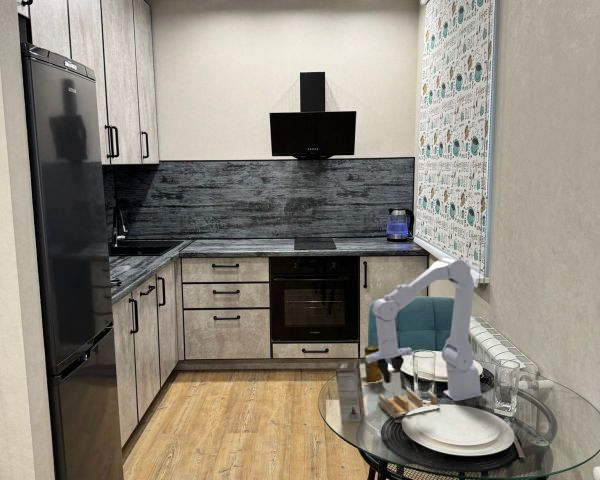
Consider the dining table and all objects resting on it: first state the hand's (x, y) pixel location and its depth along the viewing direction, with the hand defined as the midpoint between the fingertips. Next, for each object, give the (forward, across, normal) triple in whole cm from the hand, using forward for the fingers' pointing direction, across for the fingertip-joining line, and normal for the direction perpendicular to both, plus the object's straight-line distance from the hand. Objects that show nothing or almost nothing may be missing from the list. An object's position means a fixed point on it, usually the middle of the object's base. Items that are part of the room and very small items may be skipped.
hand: (391, 381), depth 172 cm
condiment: (+9, -3, -26) cm, 28 cm away
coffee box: (+9, +13, -2) cm, 16 cm away
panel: (+3, 0, 0) cm, 3 cm away
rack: (+9, -5, 0) cm, 10 cm away
